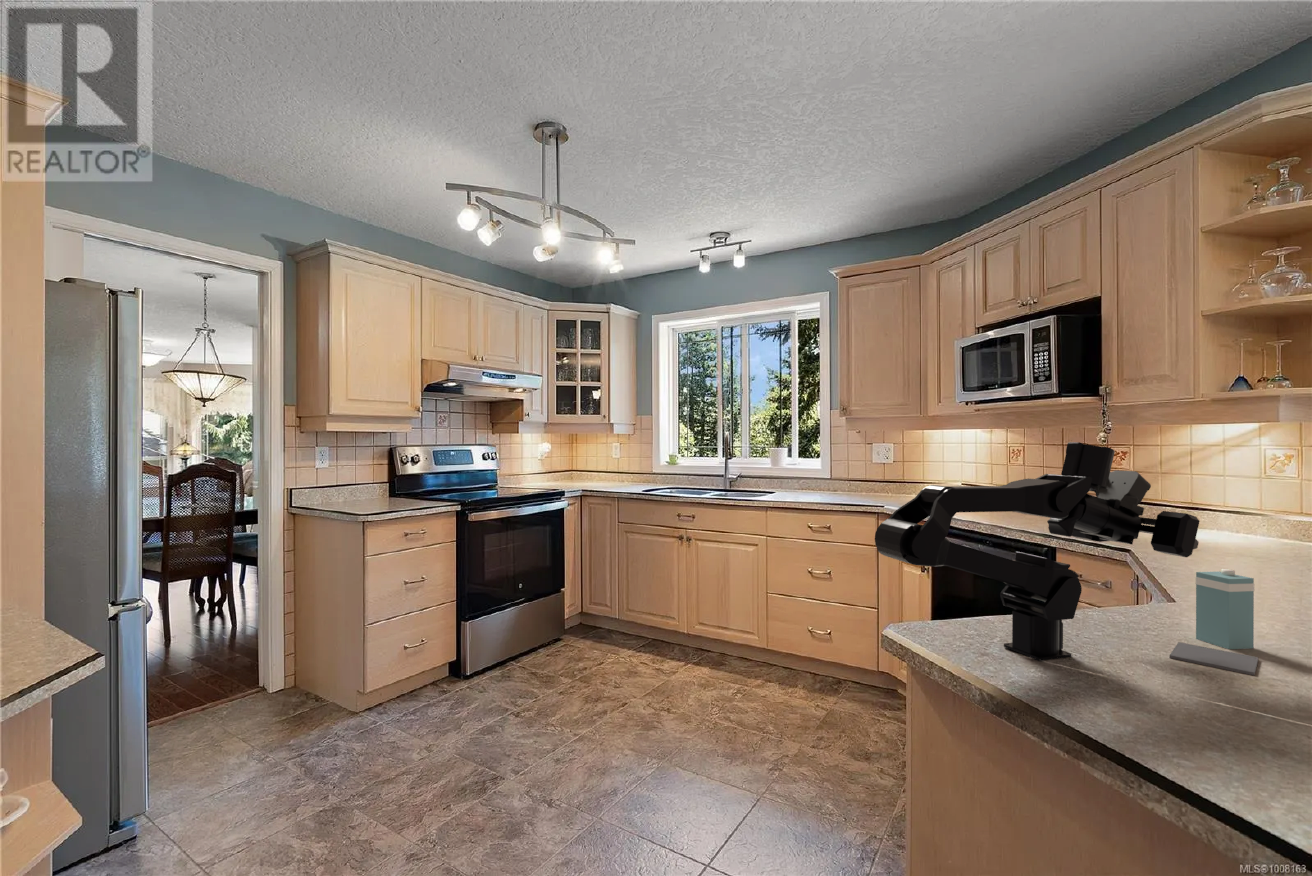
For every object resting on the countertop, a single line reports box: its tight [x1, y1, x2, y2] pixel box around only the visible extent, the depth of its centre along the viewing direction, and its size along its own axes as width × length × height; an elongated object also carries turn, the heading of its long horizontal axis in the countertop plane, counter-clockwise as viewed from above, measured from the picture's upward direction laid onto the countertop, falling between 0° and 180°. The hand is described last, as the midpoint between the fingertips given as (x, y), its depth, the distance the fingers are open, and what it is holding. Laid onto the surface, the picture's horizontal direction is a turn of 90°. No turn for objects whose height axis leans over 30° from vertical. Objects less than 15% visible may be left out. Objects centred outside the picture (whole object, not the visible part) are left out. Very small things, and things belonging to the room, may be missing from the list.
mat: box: [1169, 641, 1259, 676], centre depth 89 cm, size 9×9×1 cm
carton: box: [1195, 568, 1255, 650], centre depth 96 cm, size 5×5×12 cm
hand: (1165, 540), depth 98 cm, fingers open, 9 cm apart
